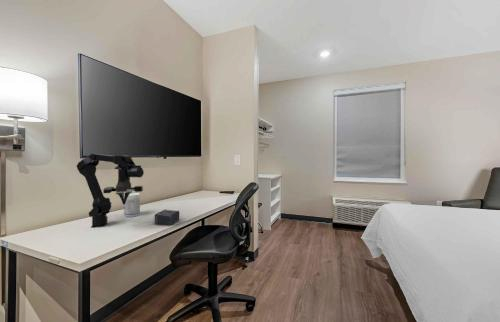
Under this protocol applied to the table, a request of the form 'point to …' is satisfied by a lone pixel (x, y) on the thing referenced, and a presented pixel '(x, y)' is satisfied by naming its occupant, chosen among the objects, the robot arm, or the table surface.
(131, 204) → the supplement tub
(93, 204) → the robot arm
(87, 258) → the table surface
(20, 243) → the table surface
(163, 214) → the small box
